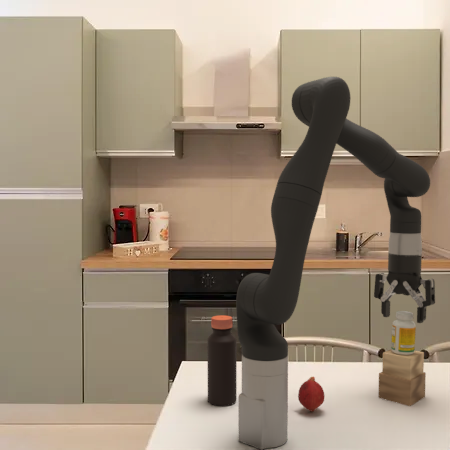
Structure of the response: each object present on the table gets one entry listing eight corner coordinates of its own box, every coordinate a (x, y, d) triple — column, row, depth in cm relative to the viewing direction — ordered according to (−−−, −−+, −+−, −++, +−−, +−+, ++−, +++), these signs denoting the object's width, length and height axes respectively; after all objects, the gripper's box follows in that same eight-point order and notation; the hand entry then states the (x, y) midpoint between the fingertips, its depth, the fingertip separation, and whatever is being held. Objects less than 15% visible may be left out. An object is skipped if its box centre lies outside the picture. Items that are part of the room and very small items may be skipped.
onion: (304, 417, 128) (304, 382, 128) (294, 408, 134) (294, 373, 133) (328, 414, 130) (328, 379, 129) (317, 405, 135) (318, 371, 135)
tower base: (410, 406, 135) (410, 381, 134) (378, 397, 140) (378, 373, 140) (425, 397, 141) (425, 372, 140) (394, 389, 146) (394, 365, 146)
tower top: (410, 380, 135) (410, 358, 135) (382, 373, 140) (382, 352, 139) (423, 372, 140) (423, 352, 140) (396, 366, 145) (396, 346, 144)
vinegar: (235, 407, 134) (235, 321, 133) (206, 406, 135) (206, 320, 133) (237, 396, 141) (237, 314, 140) (209, 395, 142) (208, 314, 140)
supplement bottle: (386, 351, 140) (388, 311, 139) (399, 347, 143) (400, 309, 143) (406, 356, 136) (408, 316, 135) (419, 353, 139) (420, 313, 139)
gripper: (369, 250, 140) (368, 317, 141) (427, 255, 130) (425, 327, 132) (384, 248, 146) (383, 312, 147) (441, 253, 136) (439, 321, 137)
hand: (403, 319), depth 139 cm, fingers open, 8 cm apart
